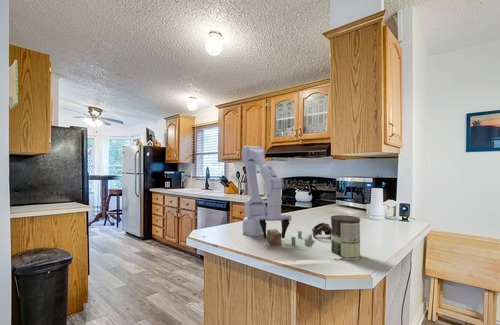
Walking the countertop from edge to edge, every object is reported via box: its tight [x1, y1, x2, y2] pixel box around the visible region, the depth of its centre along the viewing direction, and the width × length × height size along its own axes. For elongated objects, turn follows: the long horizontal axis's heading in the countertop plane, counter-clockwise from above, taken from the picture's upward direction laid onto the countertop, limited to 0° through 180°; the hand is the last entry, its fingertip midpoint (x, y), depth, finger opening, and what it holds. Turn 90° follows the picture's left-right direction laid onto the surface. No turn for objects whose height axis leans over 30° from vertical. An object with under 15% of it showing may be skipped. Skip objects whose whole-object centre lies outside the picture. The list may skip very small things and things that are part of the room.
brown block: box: [266, 228, 282, 247], centre depth 103 cm, size 4×8×5 cm, turn 6°
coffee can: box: [330, 214, 361, 261], centre depth 92 cm, size 10×10×14 cm
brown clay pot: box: [311, 222, 331, 238], centre depth 117 cm, size 12×10×8 cm
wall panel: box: [261, 230, 314, 251], centre depth 106 cm, size 18×18×4 cm
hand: (274, 238), depth 103 cm, fingers open, 7 cm apart
